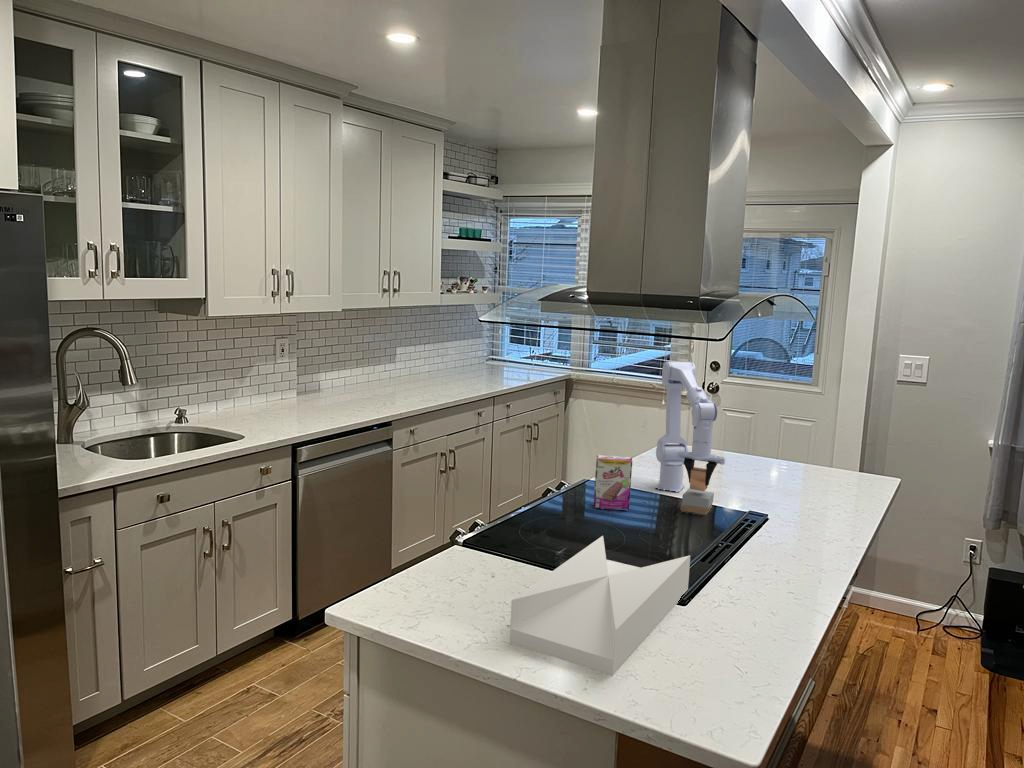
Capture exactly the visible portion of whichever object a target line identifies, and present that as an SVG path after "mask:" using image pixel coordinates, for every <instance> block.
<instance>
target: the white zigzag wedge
mask: <svg viewBox="0 0 1024 768" xmlns="http://www.w3.org/2000/svg"><path fill="white" fill-rule="evenodd" d="M604 540H605V539H604V535H602V536H600V537H599V538H597V539H596V540H594V541H593V542H591V543H590V544H589V545H587V546H586V547H584V548H583V549H582V550H580V551H579V552H577V553H576V554H574V555H573V556H572V557H570V558H569V559H567V560H566V561H564V562H563V563H562V564H560V565H559V566H558V567H556V568H555V569H553V570H551V572H548V574H546V575H545V576H543V577H542V578H541V579H539V580H538V581H536V582H535V583H533V584H532V585H530V587H528V588H527V589H525V590H523V591H522V592H521V593H519V594H518V595H517V596H515V597H514V598H513V599H511V601H510V603H511V605H510V630H509V643H510V644H511V643H512V645H515V646H517V647H521V648H525V649H527V650H531V651H534V652H537V653H541V654H543V655H547V656H550V657H553V658H556V659H558V660H562V661H566V662H569V663H571V664H575V665H578V666H581V667H585V668H588V669H590V670H594V671H596V672H597V671H598V672H601V673H603V674H606V675H609V676H614V675H615V674H616V672H618V671H619V670H620V668H621V667H622V666H623V665H624V664H625V663H626V661H628V660H629V658H630V657H631V656H632V655H633V654H634V653H635V651H636V650H637V649H638V648H639V647H640V646H641V645H642V643H643V642H644V641H646V639H647V638H648V637H649V636H650V635H651V633H653V631H654V630H655V629H656V628H657V627H658V626H659V624H660V623H662V621H663V620H664V619H665V617H666V616H668V614H670V612H671V611H672V610H673V609H674V608H675V607H676V606H677V604H678V603H679V602H680V601H681V600H680V598H681V596H682V595H683V594H684V593H685V592H686V591H687V590H688V591H689V581H690V580H689V579H690V565H691V555H687V556H681V557H678V558H674V559H670V560H666V561H662V562H659V563H655V564H651V565H646V566H642V567H640V566H636V565H631V564H625V563H623V562H618V561H616V560H610V559H607V554H606V547H605V541H604ZM679 600H680V601H679ZM678 601H679V602H678Z"/></svg>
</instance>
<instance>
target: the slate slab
mask: <svg viewBox="0 0 1024 768" xmlns="http://www.w3.org/2000/svg"><path fill="white" fill-rule="evenodd" d="M714 495H715V493H714V492H712V491H706V490H705V491H699V490H693V489H690V488H688V489H687V490H686V491H685V492H684V493H683V494H682V499H681V504H683V505H689V506H695V507H701V508H707V509H708V508H709V507H710V505H711V504H712V505H713V503H714Z"/></svg>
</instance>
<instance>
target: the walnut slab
mask: <svg viewBox="0 0 1024 768" xmlns="http://www.w3.org/2000/svg"><path fill="white" fill-rule="evenodd" d="M711 508H712V509H713V503H712V504H711V505H710V507H709V508H708V509H707V508H701V507H695V506H689V505H683V504H682V503H681V504H680V510H682V511H688V512H695V513H700V514H705V515H706V514H707V513H708V512H709V511H710V509H711ZM680 510H679V511H680ZM710 512H711V511H710ZM710 512H709V513H710Z"/></svg>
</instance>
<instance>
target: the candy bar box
mask: <svg viewBox="0 0 1024 768" xmlns="http://www.w3.org/2000/svg"><path fill="white" fill-rule="evenodd" d="M595 461H596V462H595V473H594V475H595V476H594V489H593V491H594V492H593V509H594V508H604V509H603V510H605V509H628V510H629V511H630V502H631V501H630V498H631V488H632V487H631V484H632V472H633V471H632V470H633V458H632V457H631V456H619V455H605V454H596V460H595Z"/></svg>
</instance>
